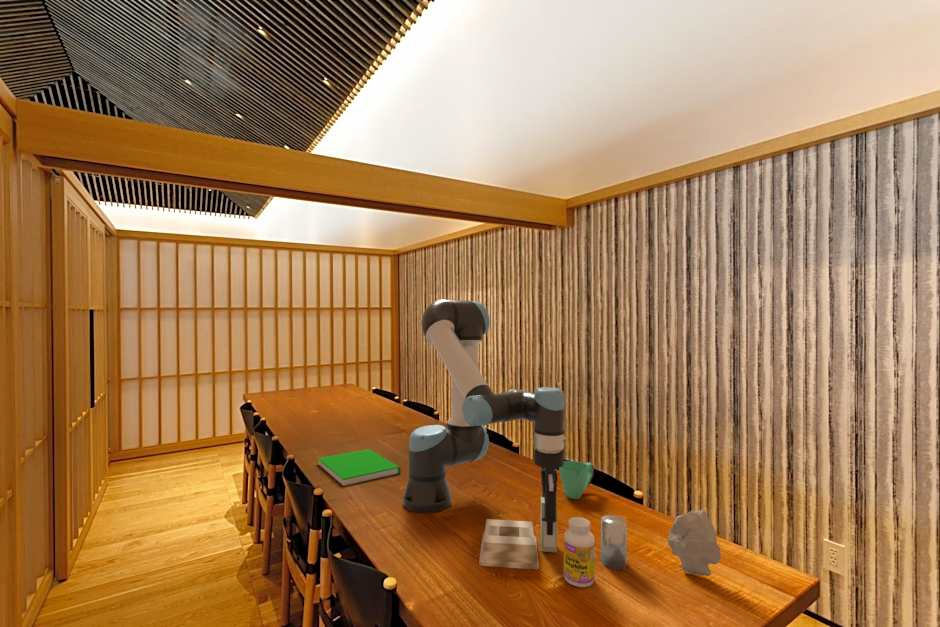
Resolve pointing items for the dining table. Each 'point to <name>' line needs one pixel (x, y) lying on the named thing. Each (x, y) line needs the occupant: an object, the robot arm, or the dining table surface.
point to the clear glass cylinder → (614, 542)
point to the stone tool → (694, 542)
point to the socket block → (509, 545)
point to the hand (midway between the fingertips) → (548, 541)
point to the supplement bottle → (579, 553)
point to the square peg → (544, 549)
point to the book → (358, 466)
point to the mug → (576, 477)
